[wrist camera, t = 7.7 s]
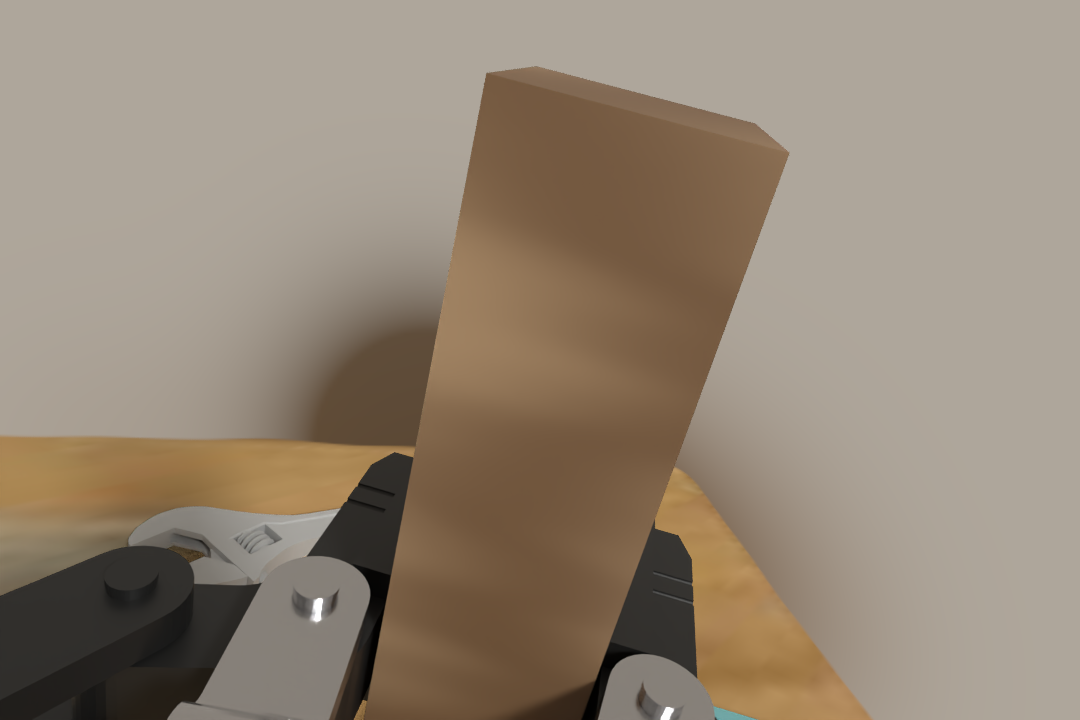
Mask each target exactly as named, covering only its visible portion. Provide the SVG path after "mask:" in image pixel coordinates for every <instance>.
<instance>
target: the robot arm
mask: <svg viewBox="0 0 1080 720" xmlns="http://www.w3.org/2000/svg"><path fill="white" fill-rule="evenodd" d="M412 463H413V457H409V456H406V455H402V454H399V453H395V452H394V453H392V454H390V455H389V456H387V457H385V458H383V459H381V460H379V461H378V462H376V463H374V464H372V465H371V466H370V468H369V469H368V471H367V472H366V473H365V475H364V476H363V478H362V479H361V480H360V482H359V484H358V487H355V489H354V490H353V492H352V493H351V494H350V496H349V497H348V500H347V502H345V503H344V504H343V506H342V507H341V509H340V510H339V511H338V513H337V514H336V516H335V517H334V518H333V520H332V521H331V523H330V524H329V525H328V527H327V528H326V530H325V531H324V532H323V534H322V535H321V537H320V538H319V540H318V541H317V542H316V544H315V545H314V547H313V548H312V549H311V551H310V552H309V554H308V555H307V556H306V557H301V558H297V559H293V560H290V561H287V562H285V563H283V564H281V565H279V566H278V567H276V568H275V569H274V570H272V571H271V572H270V573H269V574H268V575H267V576H266V578H265V579H264V581H263V582H262V583H259V584H252V585H216V584H194V572H193V569H192V567H191V565H190V564H189V562H188V561H187V560H186V559H185V558H183V557H182V556H181V555H179V554H177V553H176V552H174V551H171V550H168V549H165V548H161V547H155V546H130V547H123V548H119V549H115V550H111V551H108V552H106V553H103V554H100V555H98V556H95V557H93V558H91V559H88V560H86V561H83V562H81V563H79V564H76V565H74V566H71V567H69V568H67V569H64V570H62V571H59V572H57V573H55V574H52V575H50V576H47V577H45V578H42V579H40V580H38V581H35V582H33V583H30V584H28V585H26V586H23V587H21V588H18V589H16V590H14V591H11V592H9V593H6V594H4V595H1V596H0V720H354V717H355V715H356V713H357V711H358V709H359V707H360V705H361V703H362V700H366V701H367V700H368V695H369V690H370V684H371V679H372V674H373V669H374V663H375V658H376V653H377V648H378V642H379V637H380V632H381V627H382V621H383V616H384V611H385V605H386V600H387V595H388V590H389V584H390V579H391V574H392V569H393V563H394V558H395V553H396V547H397V542H398V537H399V532H400V526H401V521H402V516H403V511H404V505H405V500H406V495H407V489H408V484H409V479H410V474H411V468H412ZM692 582H693V579H692V559H691V557H690V555H689V554H688V552H687V550H686V548H685V546H684V545H683V543H682V541H681V539H680V538H679V536H678V535H675V534H671V533H668V532H664V531H661V530H658V529H655V520H654V523H653V525H652V528H651V531H650V533H649V536H648V539H647V542H646V544H645V547H644V550H643V553H642V555H641V558H640V561H639V563H638V566H637V569H636V572H635V574H634V577H633V580H632V582H631V585H630V588H629V591H628V593H627V596H626V599H625V601H624V604H623V607H622V610H621V612H620V615H619V618H618V620H617V623H616V626H615V629H614V631H613V634H612V637H611V639H610V642H609V645H608V648H607V650H606V653H605V656H604V659H603V661H602V664H601V667H600V669H599V672H598V675H597V678H596V680H595V683H594V686H593V688H592V691H591V694H590V697H589V699H588V702H587V705H586V707H585V710H584V713H583V716H582V718H581V720H717V718H716V717H715V712H714V707H713V703H712V701H711V698H710V696H709V694H708V693H707V691H706V689H705V688H704V686H703V685H702V684H701V683H700V681H699V680H698V679H697V665H696V644H695V622H694V606H693V586H692Z"/></svg>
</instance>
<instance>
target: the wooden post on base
mask: <svg viewBox="0 0 1080 720" xmlns="http://www.w3.org/2000/svg"><path fill="white" fill-rule="evenodd" d="M788 155H789V152H788V151H787V150H786V149H784V148H783V147H782V146H781V145H780V144H779V143H777V142H776V141H775V140H774V139H773V138H771V137H770V136H769V135H768V134H767V133H766V132H764V131H763V130H762V129H761V128H760V127H758V126H757V125H756V124H755V123H751V122H747V121H743V120H739V119H736V118H732V117H728V116H724V115H720V114H716V113H712V112H708V111H705V110H701V109H697V108H693V107H689V106H686V105H682V104H678V103H674V102H671V101H667V100H663V99H659V98H655V97H651V96H648V95H644V94H640V93H636V92H632V91H629V90H625V89H621V88H617V87H613V86H609V85H605V84H602V83H598V82H594V81H590V80H586V79H583V78H579V77H575V76H571V75H567V74H564V73H560V72H556V71H552V70H548V69H545V68H540V67H528V68H521V69H513V70H506V71H499V72H491V73H487V74H486V78H485V83H484V89H483V94H482V99H481V105H480V110H479V115H478V120H477V126H476V131H475V136H474V141H473V147H472V152H471V157H470V163H469V168H468V173H467V179H466V184H465V189H464V194H463V199H462V205H461V210H460V216H459V221H458V226H457V231H456V237H455V242H454V247H453V253H452V257H451V263H450V269H449V274H448V279H447V284H446V289H445V295H444V300H443V305H442V311H441V316H440V321H439V326H438V331H437V337H436V342H435V347H434V352H433V358H432V363H431V368H430V373H429V379H428V384H427V390H426V395H425V400H424V405H423V410H422V416H421V421H420V426H419V432H418V437H417V442H416V447H415V453H414V458H413V463H412V468H411V474H410V479H409V484H408V489H407V495H406V500H405V505H404V511H403V516H402V521H401V526H400V532H399V537H398V542H397V547H396V553H395V558H394V563H393V569H392V574H391V579H390V584H389V590H388V595H387V600H386V605H385V611H384V616H383V621H382V627H381V632H380V637H379V642H378V648H377V653H376V658H375V663H374V669H373V674H372V679H371V684H370V690H369V695H368V700H367V706H366V711H365V716H364V720H581V718H582V716H583V713H584V710H585V707H586V705H587V702H588V699H589V697H590V694H591V691H592V688H593V686H594V683H595V680H596V678H597V675H598V672H599V669H600V667H601V664H602V661H603V659H604V656H605V653H606V650H607V648H608V645H609V642H610V639H611V637H612V634H613V631H614V629H615V626H616V623H617V620H618V618H619V615H620V612H621V610H622V607H623V604H624V601H625V599H626V596H627V593H628V591H629V588H630V585H631V582H632V580H633V577H634V574H635V572H636V569H637V566H638V563H639V561H640V558H641V555H642V553H643V550H644V547H645V544H646V542H647V539H648V536H649V533H650V531H651V528H652V525H653V523H654V520H655V517H656V514H657V512H658V509H659V506H660V504H661V501H662V498H663V495H664V493H665V490H666V487H667V485H668V482H669V479H670V476H671V474H672V471H673V468H674V466H675V462H676V460H677V457H678V455H679V452H680V449H681V447H682V444H683V441H684V438H685V436H686V433H687V430H688V427H689V425H690V422H691V419H692V417H693V414H694V411H695V408H696V406H697V403H698V400H699V398H700V395H701V392H702V389H703V386H704V384H705V381H706V379H707V376H708V373H709V370H710V368H711V365H712V362H713V359H714V357H715V354H716V351H717V349H718V346H719V343H720V340H721V338H722V335H723V332H724V330H725V327H726V324H727V321H728V319H729V316H730V313H731V311H732V308H733V305H734V302H735V300H736V297H737V294H738V292H739V289H740V286H741V283H742V281H743V278H744V275H745V273H746V270H747V267H748V264H749V262H750V259H751V256H752V253H753V251H754V248H755V245H756V243H757V240H758V237H759V234H760V232H761V229H762V226H763V224H764V220H765V218H766V215H767V213H768V210H769V207H770V205H771V202H772V199H773V196H774V194H775V191H776V188H777V186H778V183H779V180H780V177H781V175H782V172H783V169H784V167H785V164H786V161H787V158H788Z"/></svg>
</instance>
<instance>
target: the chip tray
mask: <svg viewBox="0 0 1080 720" xmlns="http://www.w3.org/2000/svg"><path fill="white" fill-rule="evenodd" d="M713 707H714V706H713ZM714 712H715V717H716V718H717V720H757V719H754V718H750V717H747V716H744V715H740V714H737V713H734V712H730V711H727V710H724V709H721V708H717V707H714Z"/></svg>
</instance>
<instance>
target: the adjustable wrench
mask: <svg viewBox="0 0 1080 720" xmlns="http://www.w3.org/2000/svg"><path fill="white" fill-rule="evenodd" d="M340 509H341V508H340ZM340 509H334V510H328V511H322V512H315V513H309V514H300V515H270V514H257V513H247V512H239V511H232V510H226V509H219V508H212V507H203V506H194V507H182V508H176V509H172V510H169V511H166V512H163V513H159V514H157V515H155V516H153V517H151V518H149V519H148V520H146V521H145V522H144V523H142V524H141V525H139V526H138V527H137V528H136V529H135V530H134V531H133V533H132V534H131V536H130V537H129V538H128V547H130V546H155V547H161V548H165V549H167V548H169V547H171V546H173V545H175V546H179V547H183V548H187V549H191V550H195V551H199V552H202V553H203V554H204V555H205V556H206V557H205V556H204V557H202V558H200V559H197V560H195V561H193V562H191V563H189V564H190V565H191V567H192V569H193V572H194V584H216V585H252V584H259V583H262V582H263V581H264V579H265V578H266V576H267V575H268V574H269V573H270V572H271V571H272V570H274V569H275V568H276V567H278V566H279V565H281V564H283V563H285V562H287V561H290V560H293V559H297V558H301V557H304V556H307V555H308V554H309V552H310V551H311V549H312V548H313V547H314V545H315V544H316V542H317V541H318V540H319V538H320V537H321V535H322V534H323V532H324V531H325V530H326V528H327V527H328V525H329V524H330V523H331V521H332V520H333V518H334V517H335V516H336V514H337V513H338V511H339V510H340Z"/></svg>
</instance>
